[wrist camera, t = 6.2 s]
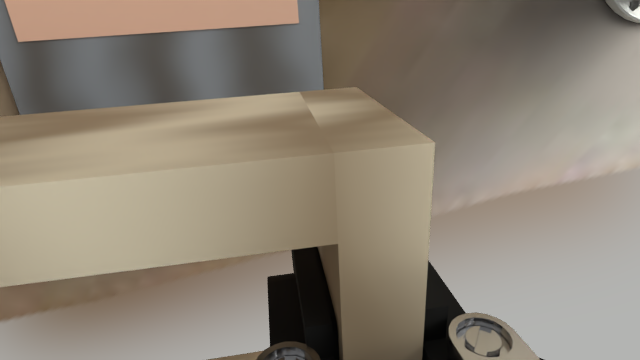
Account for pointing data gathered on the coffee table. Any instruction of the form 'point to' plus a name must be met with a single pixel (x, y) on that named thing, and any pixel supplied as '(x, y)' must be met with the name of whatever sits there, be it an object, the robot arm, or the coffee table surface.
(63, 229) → the open wooden box
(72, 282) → the coffee table surface
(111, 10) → the pin stand
